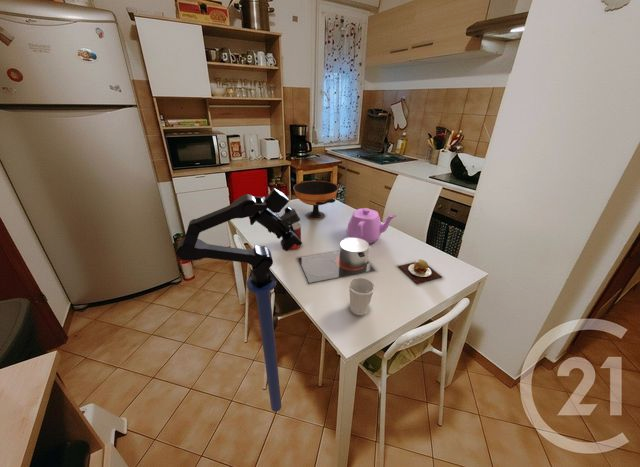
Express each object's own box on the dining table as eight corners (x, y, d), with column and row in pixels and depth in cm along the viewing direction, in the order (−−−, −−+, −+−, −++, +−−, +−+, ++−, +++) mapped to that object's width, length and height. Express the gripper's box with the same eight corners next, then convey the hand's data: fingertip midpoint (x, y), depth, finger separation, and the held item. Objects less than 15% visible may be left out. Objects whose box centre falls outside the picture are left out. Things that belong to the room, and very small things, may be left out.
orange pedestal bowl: (284, 208, 164) (283, 181, 156) (320, 202, 175) (320, 176, 166) (309, 232, 136) (309, 200, 128) (350, 223, 147) (352, 193, 138)
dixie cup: (344, 300, 91) (346, 277, 87) (368, 299, 92) (371, 276, 87) (348, 319, 84) (350, 294, 79) (374, 317, 84) (378, 293, 80)
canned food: (300, 250, 121) (300, 228, 116) (283, 249, 121) (281, 228, 116) (301, 241, 128) (301, 221, 122) (285, 241, 128) (284, 221, 122)
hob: (309, 283, 100) (309, 282, 99) (298, 258, 115) (298, 257, 114) (375, 270, 107) (375, 270, 107) (356, 248, 122) (356, 248, 122)
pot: (347, 273, 105) (348, 256, 101) (333, 253, 118) (334, 238, 114) (374, 268, 108) (376, 251, 105) (358, 249, 121) (359, 234, 117)
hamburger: (421, 261, 113) (424, 250, 111) (441, 277, 104) (445, 266, 101) (398, 266, 110) (400, 255, 107) (416, 284, 100) (419, 272, 97)
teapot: (340, 245, 125) (342, 216, 118) (352, 226, 143) (354, 200, 136) (389, 254, 118) (393, 224, 111) (394, 234, 135) (399, 207, 128)
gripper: (291, 214, 84) (323, 240, 92) (280, 195, 100) (308, 218, 108) (268, 239, 85) (301, 262, 94) (261, 217, 101) (290, 238, 109)
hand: (301, 243), depth 101 cm, fingers closed
